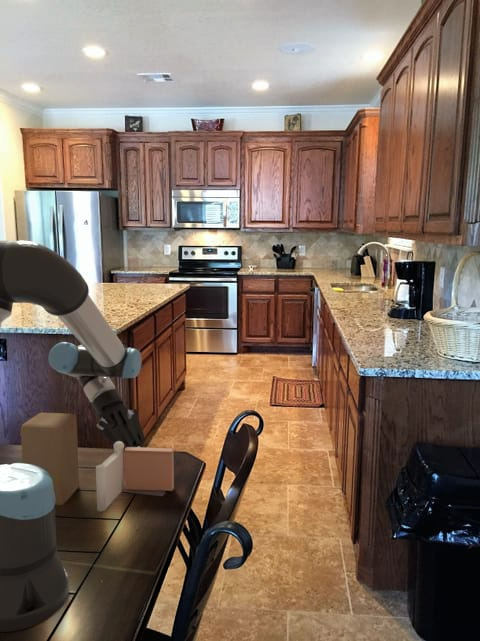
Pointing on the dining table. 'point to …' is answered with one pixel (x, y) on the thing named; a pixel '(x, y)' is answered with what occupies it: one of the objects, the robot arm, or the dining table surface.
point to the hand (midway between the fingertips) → (147, 470)
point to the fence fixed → (110, 477)
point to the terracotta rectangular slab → (149, 468)
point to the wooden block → (53, 450)
